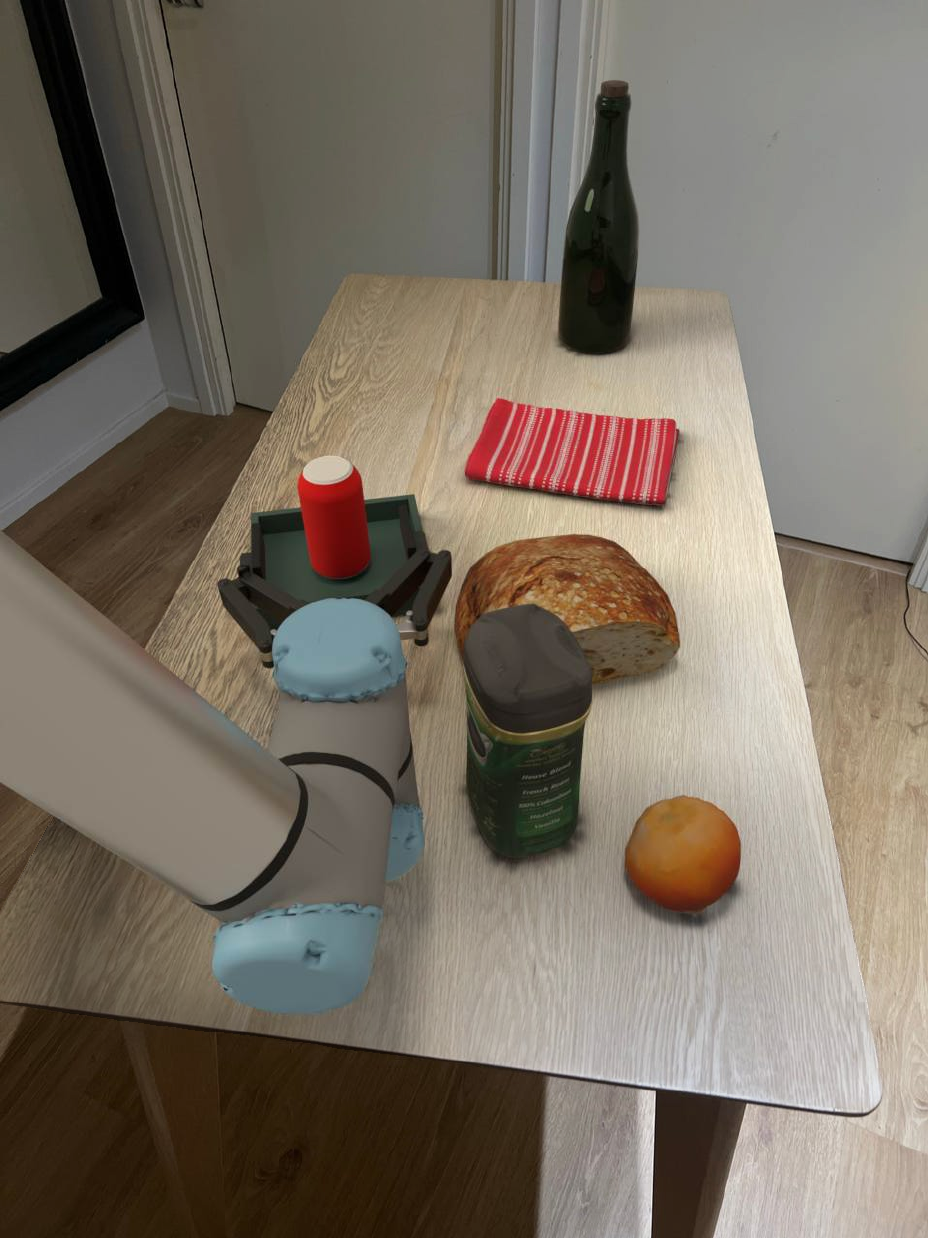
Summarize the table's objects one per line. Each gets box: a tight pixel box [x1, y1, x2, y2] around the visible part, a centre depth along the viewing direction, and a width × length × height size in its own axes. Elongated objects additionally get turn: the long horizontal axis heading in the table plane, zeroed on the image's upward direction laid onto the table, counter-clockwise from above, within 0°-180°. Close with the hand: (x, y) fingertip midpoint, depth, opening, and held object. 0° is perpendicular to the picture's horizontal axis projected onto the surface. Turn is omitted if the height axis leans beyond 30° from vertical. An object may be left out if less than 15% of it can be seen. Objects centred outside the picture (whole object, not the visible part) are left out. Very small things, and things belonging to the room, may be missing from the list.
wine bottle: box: [557, 79, 640, 354], centre depth 119 cm, size 10×10×33 cm
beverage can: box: [296, 455, 371, 579], centre depth 88 cm, size 6×6×12 cm
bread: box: [453, 533, 681, 685], centre depth 82 cm, size 20×18×10 cm
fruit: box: [624, 794, 742, 919], centre depth 64 cm, size 8×8×8 cm
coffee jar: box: [462, 603, 593, 859], centre depth 64 cm, size 10×8×19 cm
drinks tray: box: [250, 493, 424, 631], centre depth 91 cm, size 18×16×3 cm
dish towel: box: [464, 397, 680, 506], centre depth 106 cm, size 17×24×3 cm
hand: (331, 525), depth 83 cm, fingers open, 13 cm apart
